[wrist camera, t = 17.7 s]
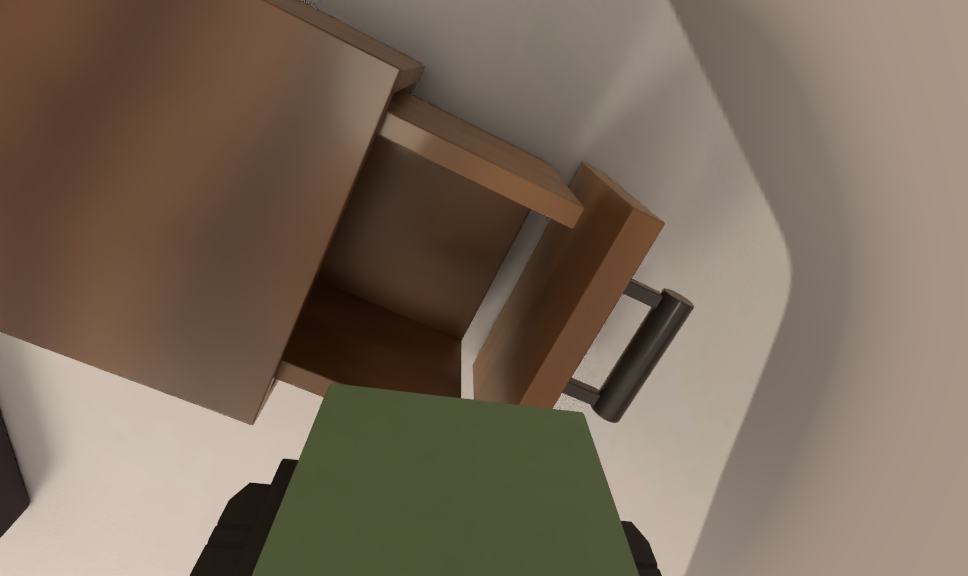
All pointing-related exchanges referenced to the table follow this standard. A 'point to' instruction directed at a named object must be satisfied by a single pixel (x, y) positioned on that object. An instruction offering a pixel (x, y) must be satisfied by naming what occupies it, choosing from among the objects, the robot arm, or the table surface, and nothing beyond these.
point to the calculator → (9, 485)
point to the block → (445, 492)
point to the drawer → (477, 273)
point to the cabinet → (179, 181)
